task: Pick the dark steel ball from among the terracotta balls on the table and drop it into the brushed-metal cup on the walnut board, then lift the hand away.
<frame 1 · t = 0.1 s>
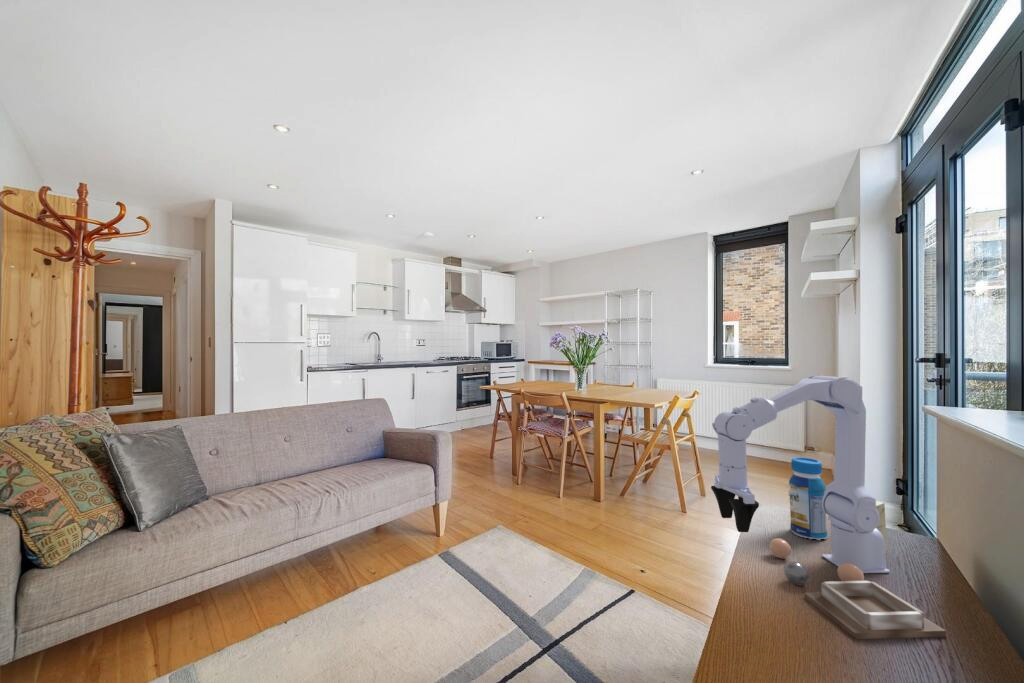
hand: (734, 524, 94), 10 cm above the table, tool pointing down, fingers open, 7 cm apart
holder board: (870, 615, 77), on the table
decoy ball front: (780, 548, 99), point 2 cm above the table
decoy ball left: (850, 574, 87), point 2 cm above the table
skincare box: (870, 552, 101), on the table
beverage bottle: (808, 535, 111), on the table
steel ball: (796, 573, 88), point 2 cm above the table
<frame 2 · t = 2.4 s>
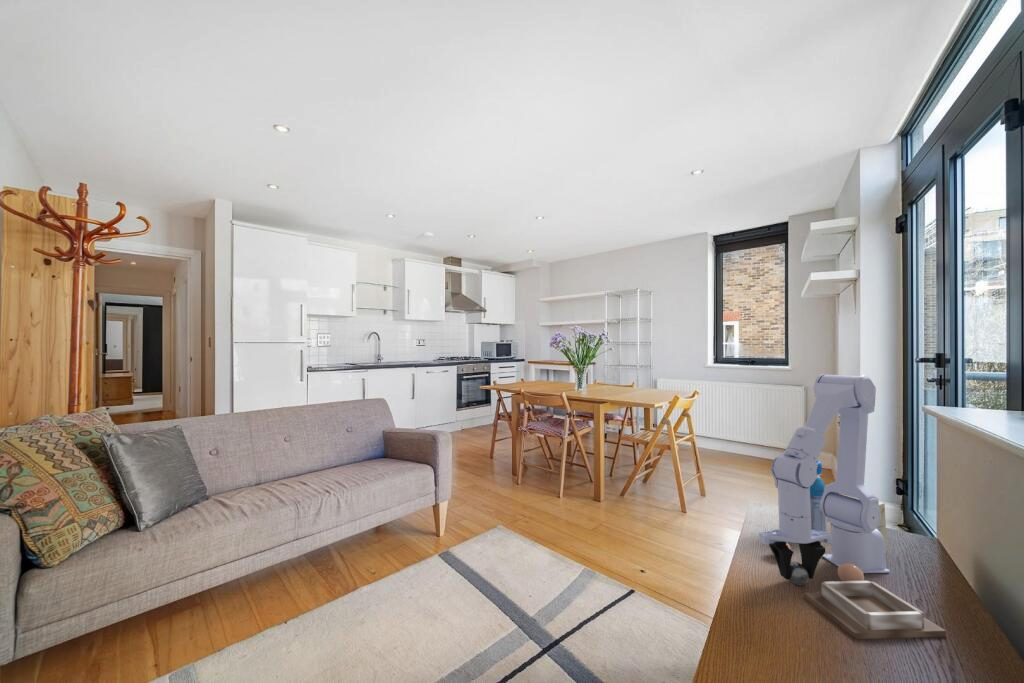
hand: (796, 576, 88), 1 cm above the table, tool pointing down, fingers closed on steel ball, 4 cm apart
steel ball: (796, 573, 88), point 2 cm above the table, touching gripper
everything else where it was.
when the fingers open (5 cm above the table, at t = 6.4 s): steel ball drops 2 cm, resting on holder board.
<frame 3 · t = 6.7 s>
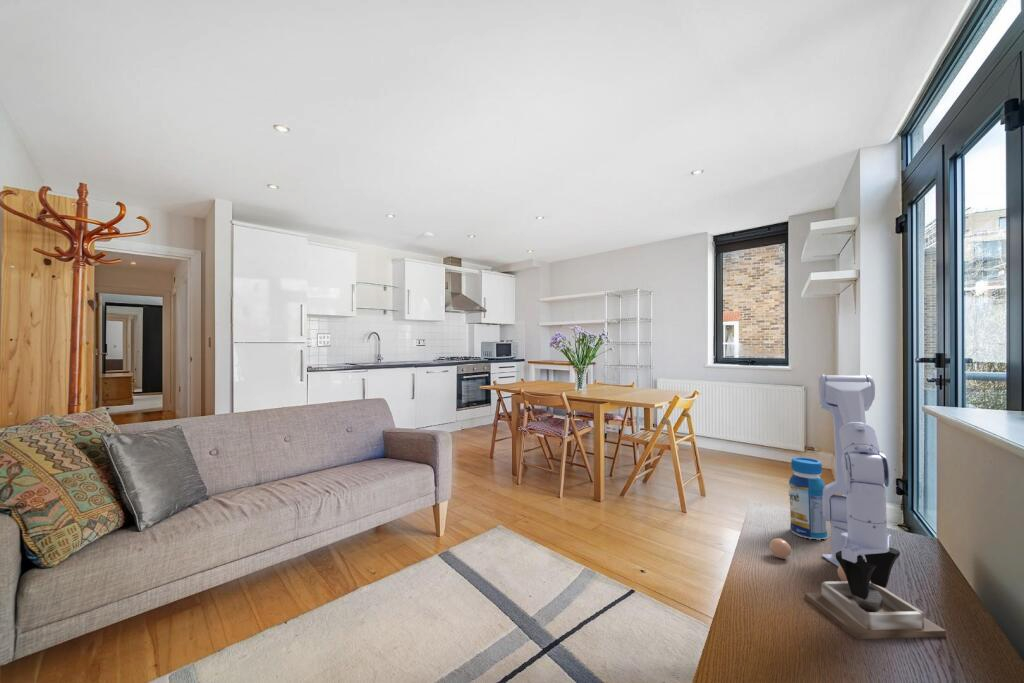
hand: (869, 590, 77), 5 cm above the table, tool pointing down, fingers open, 7 cm apart
steel ball: (867, 598, 77), point 3 cm above the table, touching holder board
everything else where it was.
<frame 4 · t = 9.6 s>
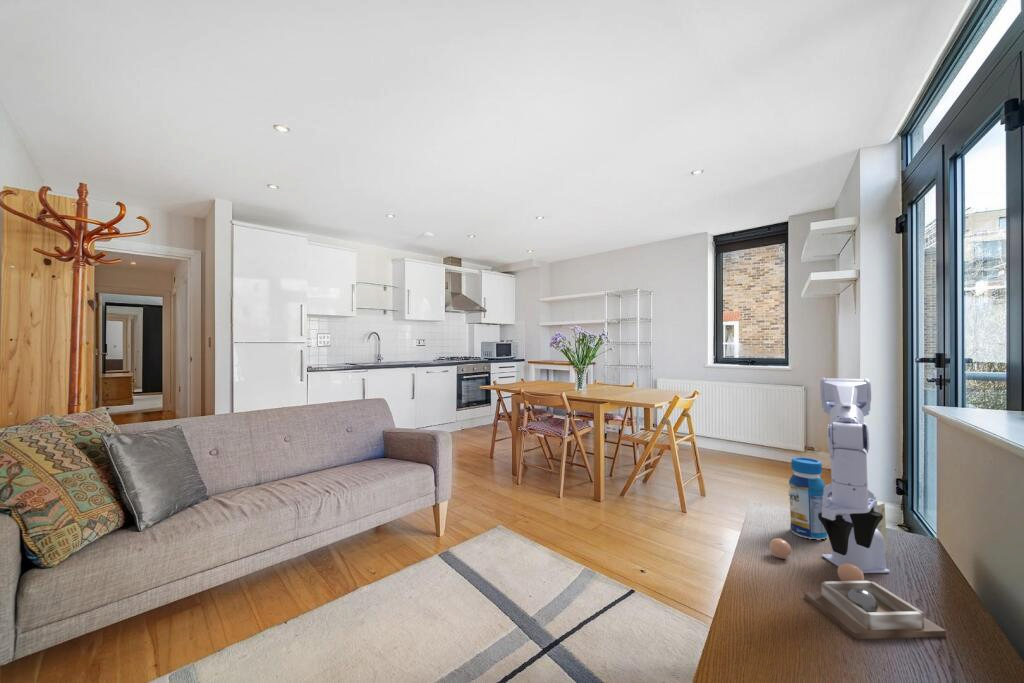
hand: (851, 549, 83), 9 cm above the table, tool pointing down, fingers open, 7 cm apart
steel ball: (862, 601, 76), point 3 cm above the table, tilted 59°, touching holder board
everything else where it was.
at the end: steel ball 2.5 cm off-centre on the holder board, point 3.2 cm above the holder board's base; the gripper is holding nothing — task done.
